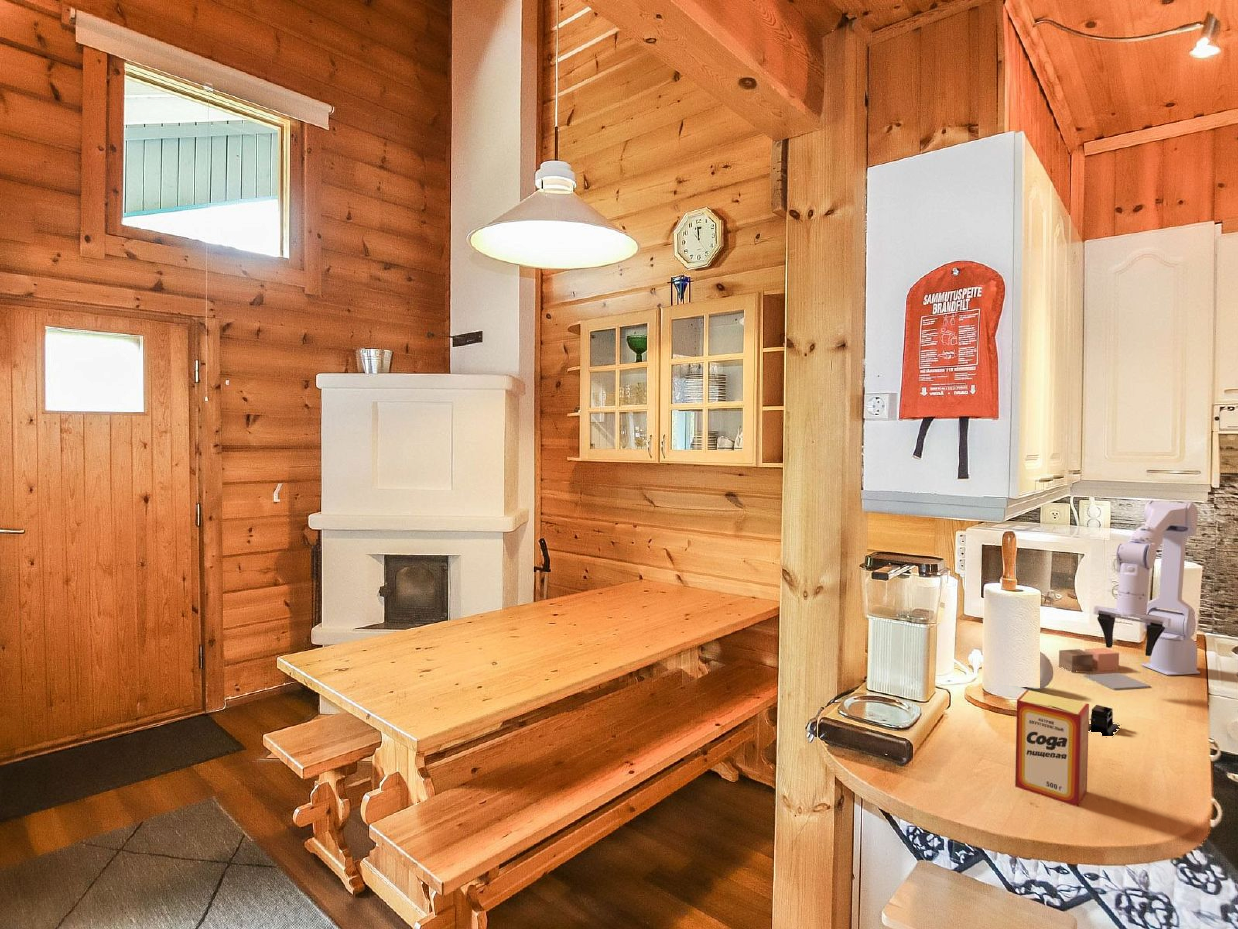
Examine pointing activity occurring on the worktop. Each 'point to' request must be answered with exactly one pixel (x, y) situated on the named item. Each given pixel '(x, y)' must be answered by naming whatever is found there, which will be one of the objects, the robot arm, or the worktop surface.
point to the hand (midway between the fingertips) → (1128, 651)
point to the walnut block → (1075, 660)
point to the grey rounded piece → (1045, 671)
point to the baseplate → (1117, 681)
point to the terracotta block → (1104, 659)
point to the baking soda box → (1052, 746)
